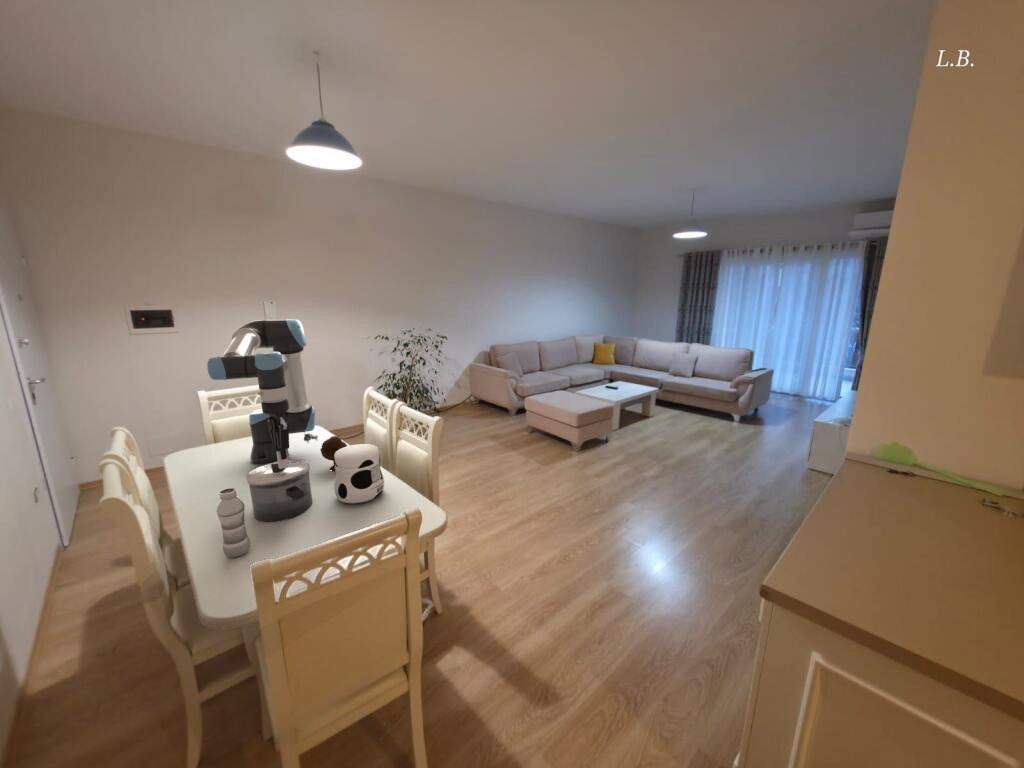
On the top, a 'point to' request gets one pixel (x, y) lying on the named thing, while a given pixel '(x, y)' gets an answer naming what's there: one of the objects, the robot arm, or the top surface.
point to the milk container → (358, 474)
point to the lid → (277, 473)
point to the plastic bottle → (232, 524)
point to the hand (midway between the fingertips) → (283, 467)
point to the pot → (281, 499)
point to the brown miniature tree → (332, 448)
